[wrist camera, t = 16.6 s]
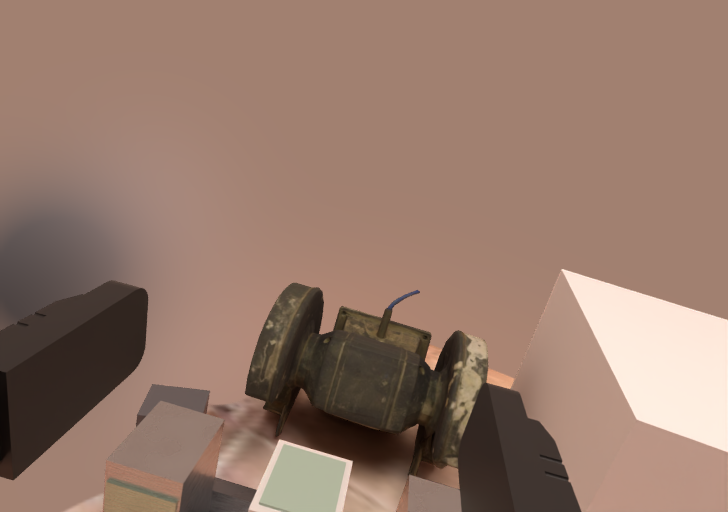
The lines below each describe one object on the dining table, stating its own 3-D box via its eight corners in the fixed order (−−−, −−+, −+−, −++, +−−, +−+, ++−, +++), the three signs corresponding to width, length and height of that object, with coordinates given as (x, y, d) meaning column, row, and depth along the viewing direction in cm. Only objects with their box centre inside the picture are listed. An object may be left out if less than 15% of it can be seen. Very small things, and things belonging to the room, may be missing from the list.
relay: (200, 449, 44) (209, 390, 41) (191, 483, 40) (200, 421, 38) (146, 444, 43) (152, 384, 40) (131, 479, 39) (137, 414, 37)
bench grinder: (453, 545, 36) (527, 312, 39) (207, 443, 39) (291, 229, 41) (430, 466, 56) (480, 315, 59) (269, 402, 59) (323, 259, 61)
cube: (835, 892, 26) (1193, 618, 18) (475, 712, 30) (636, 419, 22) (673, 531, 49) (797, 341, 41) (482, 456, 53) (561, 268, 45)
